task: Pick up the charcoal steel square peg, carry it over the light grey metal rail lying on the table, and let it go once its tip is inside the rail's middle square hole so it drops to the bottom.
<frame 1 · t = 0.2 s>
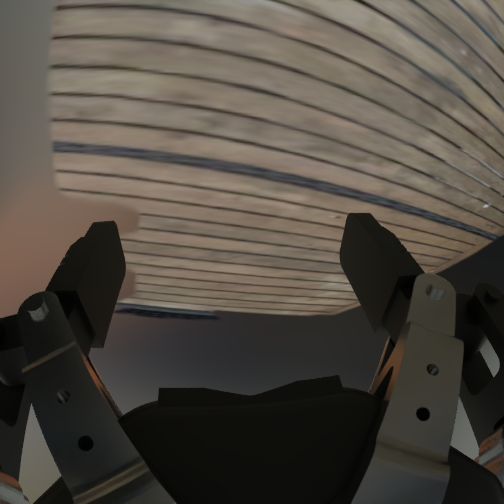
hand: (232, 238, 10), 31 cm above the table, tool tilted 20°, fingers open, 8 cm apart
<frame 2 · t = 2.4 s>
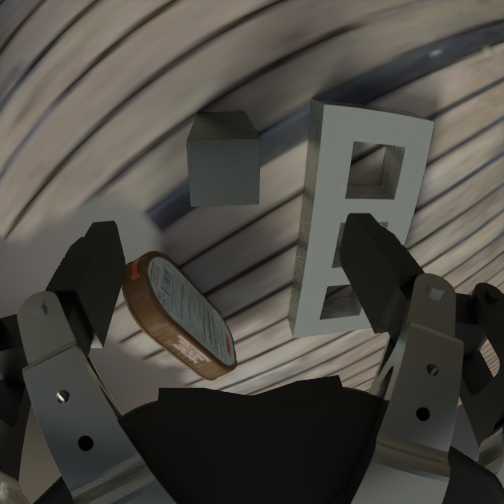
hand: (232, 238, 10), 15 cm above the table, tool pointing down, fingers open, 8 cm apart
rail: (348, 228, 29), on the table
square peg: (220, 133, 22), on the table
tin: (188, 288, 31), on the table
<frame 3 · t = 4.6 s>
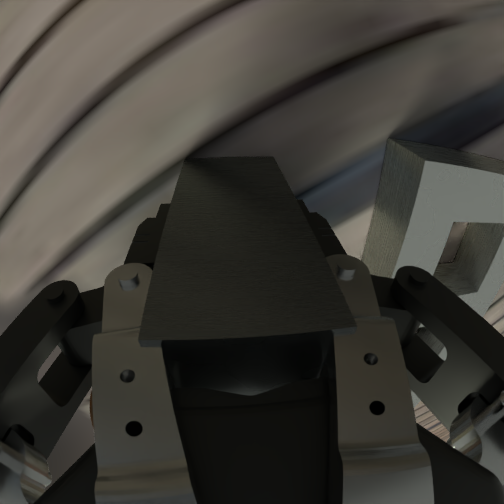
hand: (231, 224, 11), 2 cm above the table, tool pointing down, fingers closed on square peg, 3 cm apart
rail: (404, 316, 19), on the table
square peg: (229, 197, 13), on the table, touching gripper
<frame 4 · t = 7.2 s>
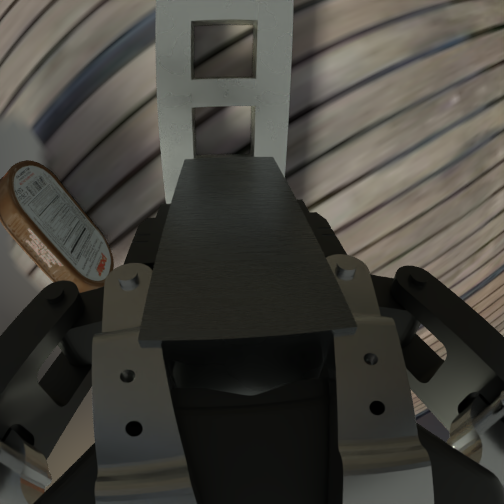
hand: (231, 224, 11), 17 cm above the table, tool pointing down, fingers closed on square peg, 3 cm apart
rail: (223, 128, 25), on the table
square peg: (229, 197, 13), point 14 cm above the table, touching gripper
tin: (73, 206, 27), on the table
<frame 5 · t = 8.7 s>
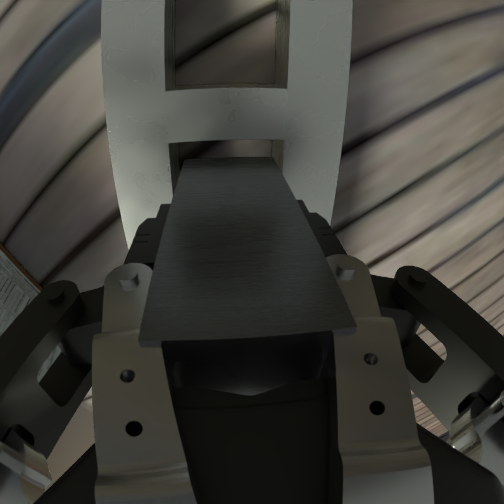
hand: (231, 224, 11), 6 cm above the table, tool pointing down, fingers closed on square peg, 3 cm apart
rail: (225, 169, 16), on the table
square peg: (229, 197, 13), point 3 cm above the table, touching gripper
tin: (23, 274, 18), on the table
when the fingers open (4 cm above the table, at t = 9.7 s): square peg drops 1 cm, resting in rail.
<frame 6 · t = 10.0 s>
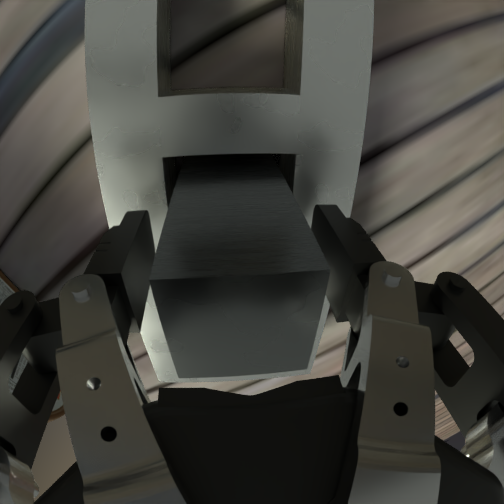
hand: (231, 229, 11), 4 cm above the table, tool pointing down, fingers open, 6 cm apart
rail: (227, 184, 14), on the table
square peg: (227, 183, 14), resting in rail
tin: (14, 290, 17), on the table
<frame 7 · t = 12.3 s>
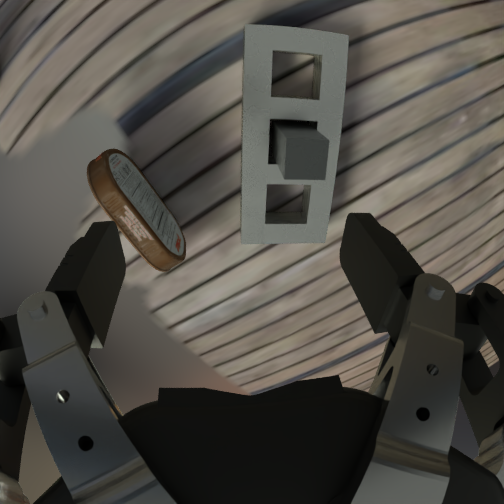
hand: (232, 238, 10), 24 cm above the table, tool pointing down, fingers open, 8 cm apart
rail: (287, 136, 32), on the table
square peg: (287, 135, 32), resting in rail
tin: (149, 193, 34), on the table
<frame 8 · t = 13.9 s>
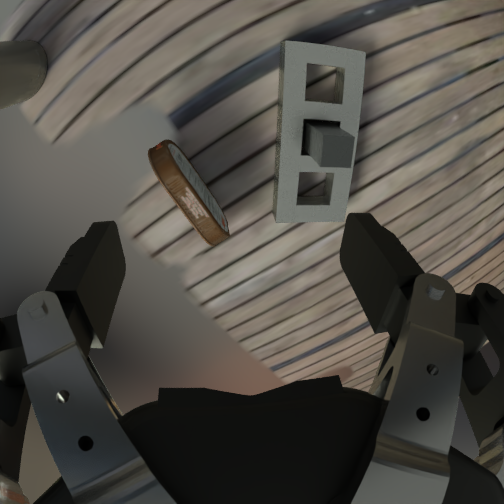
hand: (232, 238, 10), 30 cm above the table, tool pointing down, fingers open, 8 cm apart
rail: (313, 132, 38), on the table
square peg: (313, 132, 38), resting in rail
tin: (194, 179, 40), on the table
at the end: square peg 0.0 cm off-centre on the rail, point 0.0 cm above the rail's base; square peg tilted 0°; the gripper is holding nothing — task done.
